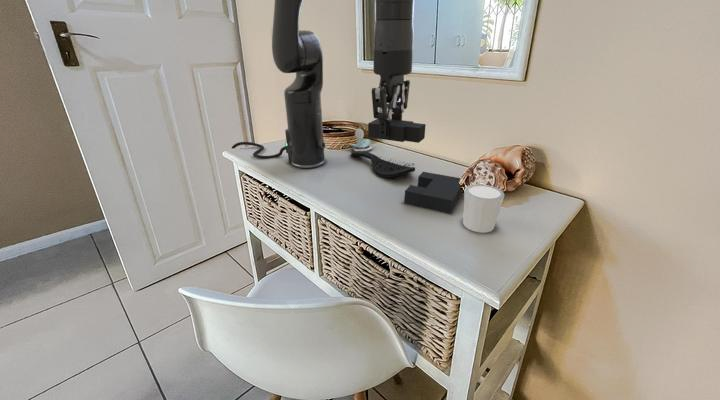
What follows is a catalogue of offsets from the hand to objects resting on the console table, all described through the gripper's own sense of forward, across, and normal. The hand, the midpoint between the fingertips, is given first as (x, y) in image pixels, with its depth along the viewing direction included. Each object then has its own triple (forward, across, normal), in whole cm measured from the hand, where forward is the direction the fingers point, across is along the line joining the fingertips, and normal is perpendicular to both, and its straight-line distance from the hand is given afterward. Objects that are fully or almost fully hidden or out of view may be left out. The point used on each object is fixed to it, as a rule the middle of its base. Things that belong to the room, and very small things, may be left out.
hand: (390, 133), depth 71 cm
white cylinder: (+14, +6, +21) cm, 26 cm away
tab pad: (0, 0, +1) cm, 2 cm away
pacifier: (+13, -23, -20) cm, 33 cm away
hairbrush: (+13, -12, -9) cm, 20 cm away
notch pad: (+13, -2, +10) cm, 17 cm away
